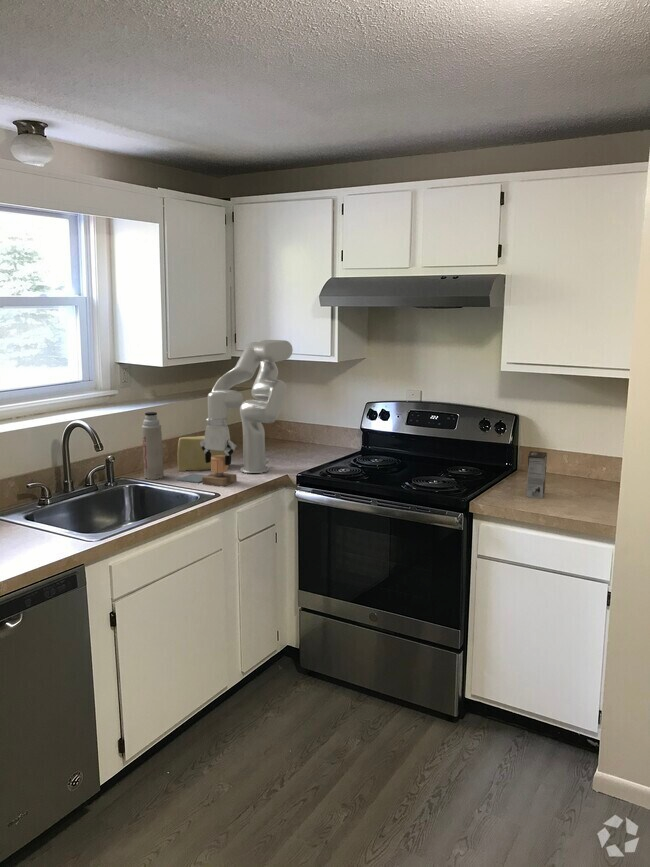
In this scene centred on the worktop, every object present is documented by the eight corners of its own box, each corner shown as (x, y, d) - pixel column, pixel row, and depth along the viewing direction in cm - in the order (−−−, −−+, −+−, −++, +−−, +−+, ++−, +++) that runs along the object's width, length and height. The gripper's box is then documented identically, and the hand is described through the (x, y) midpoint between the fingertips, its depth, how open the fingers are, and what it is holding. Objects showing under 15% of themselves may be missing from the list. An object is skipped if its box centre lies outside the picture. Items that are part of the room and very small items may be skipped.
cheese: (179, 473, 315) (178, 439, 312) (176, 468, 324) (175, 436, 321) (229, 469, 322) (228, 436, 319) (225, 464, 331) (224, 432, 328)
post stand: (216, 478, 304) (215, 455, 303) (236, 481, 300) (235, 457, 298) (202, 484, 296) (201, 460, 294) (222, 486, 291) (222, 462, 289)
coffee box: (528, 491, 282) (530, 450, 279) (545, 492, 279) (547, 452, 277) (525, 497, 273) (527, 455, 271) (543, 498, 271) (545, 456, 268)
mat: (192, 474, 312) (192, 473, 311) (213, 477, 307) (213, 476, 307) (176, 480, 302) (176, 479, 302) (198, 483, 297) (198, 481, 297)
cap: (217, 468, 301) (216, 454, 300) (230, 470, 298) (229, 455, 297) (208, 471, 295) (207, 457, 294) (221, 473, 293) (220, 459, 292)
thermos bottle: (145, 480, 303) (142, 414, 298) (143, 476, 310) (139, 411, 305) (164, 478, 306) (161, 413, 300) (162, 474, 313) (159, 410, 308)
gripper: (194, 422, 293) (195, 463, 296) (230, 425, 286) (230, 467, 289) (205, 419, 300) (206, 460, 303) (240, 422, 293) (241, 463, 295)
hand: (218, 463), depth 296 cm, fingers open, 9 cm apart
